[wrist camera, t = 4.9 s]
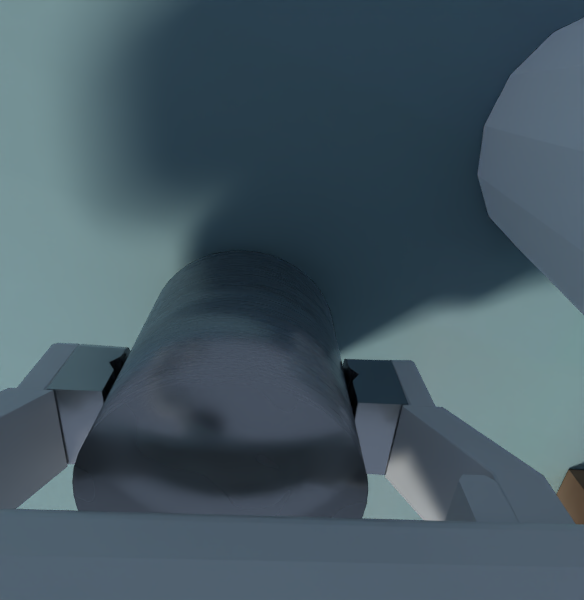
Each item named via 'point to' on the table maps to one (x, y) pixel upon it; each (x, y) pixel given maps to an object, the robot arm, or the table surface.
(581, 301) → the shot glass
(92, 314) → the table surface
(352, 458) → the grey rounded piece
